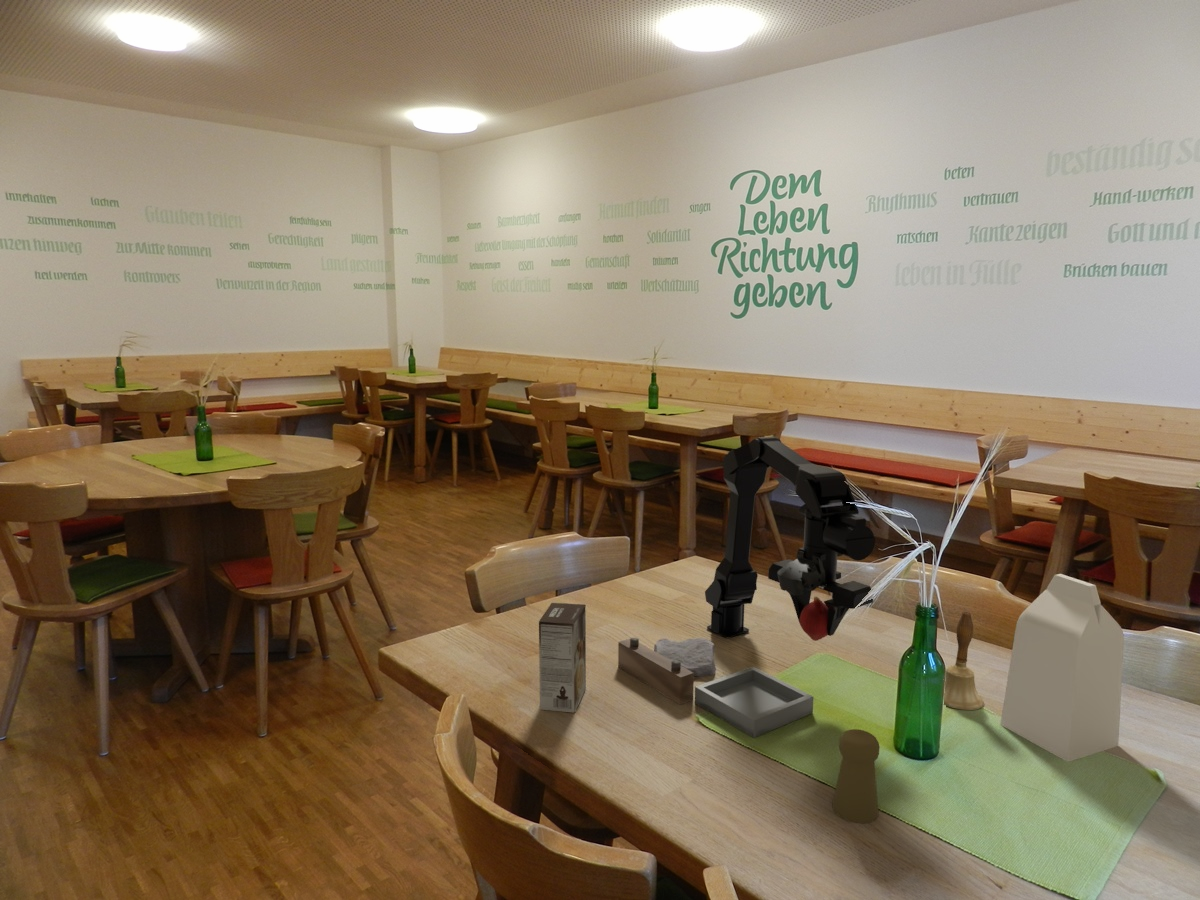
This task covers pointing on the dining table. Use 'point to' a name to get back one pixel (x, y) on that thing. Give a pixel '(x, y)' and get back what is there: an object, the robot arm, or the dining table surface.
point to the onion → (815, 619)
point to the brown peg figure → (857, 777)
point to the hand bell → (962, 672)
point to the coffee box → (562, 657)
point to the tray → (753, 701)
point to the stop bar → (656, 670)
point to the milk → (1066, 672)
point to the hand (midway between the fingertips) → (816, 629)
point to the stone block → (689, 654)
